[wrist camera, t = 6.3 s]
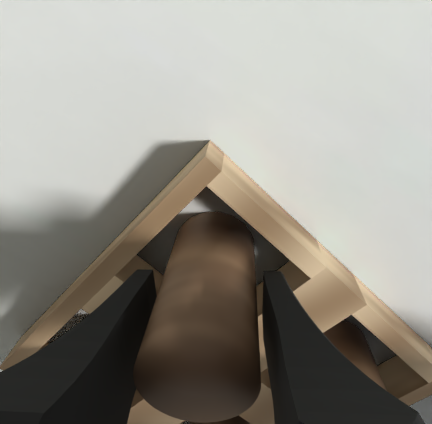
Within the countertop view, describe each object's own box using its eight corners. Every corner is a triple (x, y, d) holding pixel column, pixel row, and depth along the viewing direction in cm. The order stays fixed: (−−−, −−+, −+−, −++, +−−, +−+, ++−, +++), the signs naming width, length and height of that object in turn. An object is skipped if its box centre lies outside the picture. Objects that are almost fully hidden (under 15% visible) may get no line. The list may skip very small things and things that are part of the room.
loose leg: (270, 247, 16) (288, 387, 10) (214, 289, 17) (198, 437, 11) (214, 194, 15) (193, 312, 9) (159, 243, 16) (107, 377, 10)
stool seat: (432, 348, 18) (535, 521, 11) (222, 461, 23) (215, 619, 17) (209, 140, 14) (182, 231, 7) (21, 336, 19) (-86, 483, 13)
